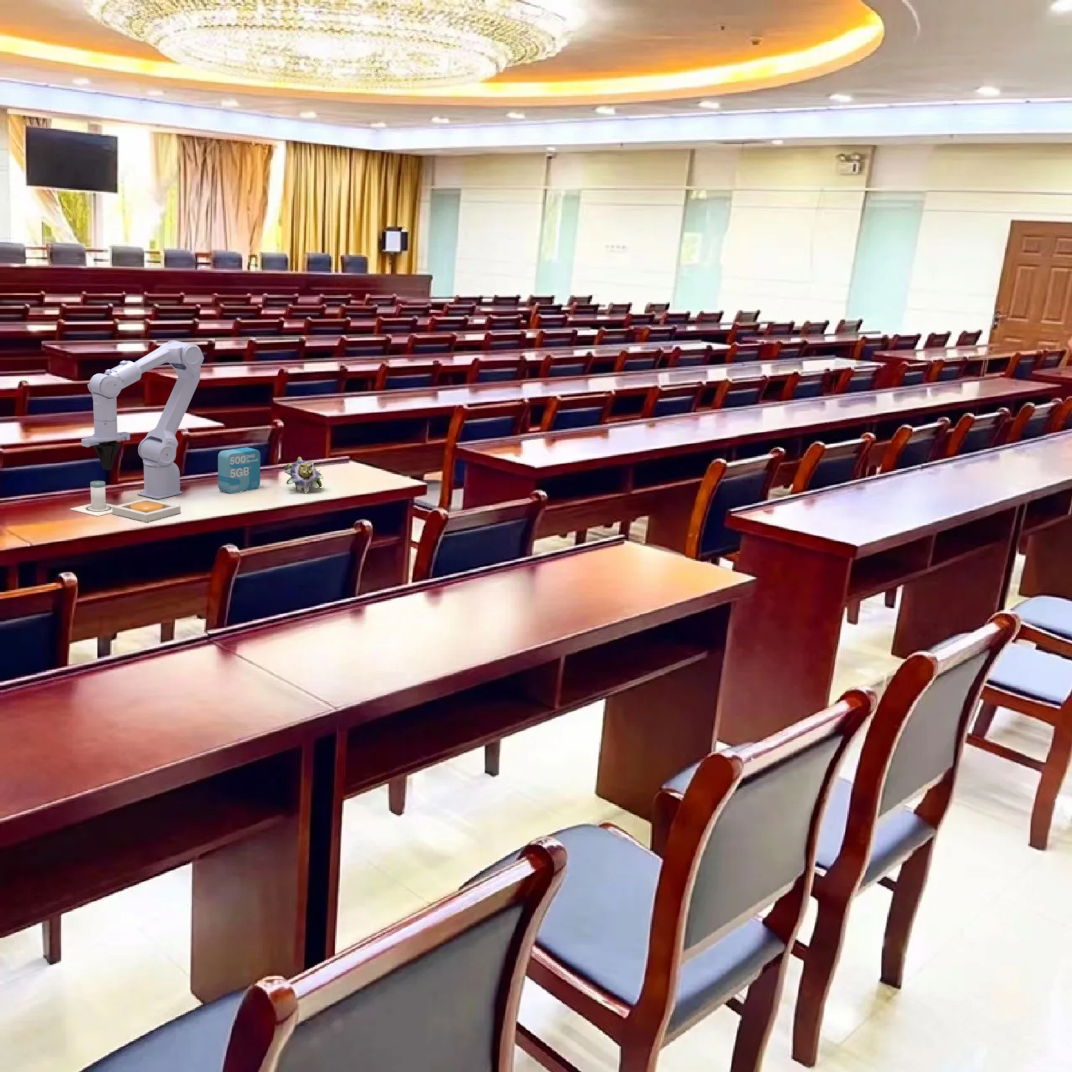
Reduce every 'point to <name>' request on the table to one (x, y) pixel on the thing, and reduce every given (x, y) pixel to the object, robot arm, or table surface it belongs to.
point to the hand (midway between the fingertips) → (107, 469)
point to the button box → (127, 512)
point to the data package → (238, 470)
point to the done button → (146, 506)
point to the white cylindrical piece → (98, 495)
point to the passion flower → (303, 475)
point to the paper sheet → (90, 511)
